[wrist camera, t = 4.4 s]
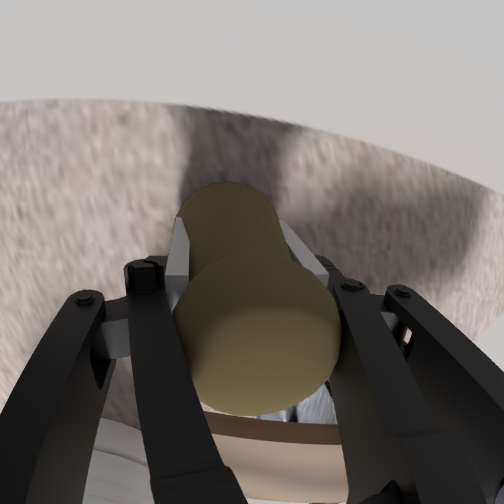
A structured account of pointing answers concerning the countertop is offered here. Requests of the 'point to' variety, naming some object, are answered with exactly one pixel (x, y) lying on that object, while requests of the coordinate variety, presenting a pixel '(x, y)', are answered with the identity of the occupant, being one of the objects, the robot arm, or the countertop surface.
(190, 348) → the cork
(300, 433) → the seesaw plank
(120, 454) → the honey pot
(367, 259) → the countertop surface
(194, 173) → the countertop surface
